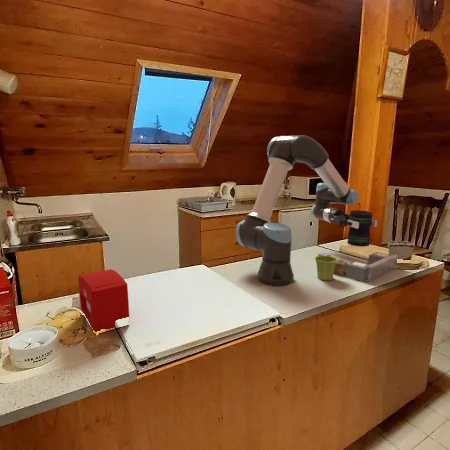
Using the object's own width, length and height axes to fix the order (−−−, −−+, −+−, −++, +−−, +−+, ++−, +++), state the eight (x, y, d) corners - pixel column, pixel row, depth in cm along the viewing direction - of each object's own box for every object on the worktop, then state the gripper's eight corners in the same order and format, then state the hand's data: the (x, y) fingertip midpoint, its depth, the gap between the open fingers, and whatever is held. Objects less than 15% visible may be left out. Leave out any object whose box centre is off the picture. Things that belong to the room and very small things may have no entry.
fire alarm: (81, 315, 114) (76, 272, 110) (113, 307, 120) (110, 266, 116) (94, 337, 101) (90, 289, 97) (130, 326, 107) (127, 281, 103)
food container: (407, 260, 171) (410, 240, 168) (413, 264, 165) (415, 244, 162) (382, 259, 172) (384, 240, 170) (386, 263, 166) (388, 243, 164)
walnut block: (331, 273, 153) (331, 262, 152) (335, 269, 158) (335, 259, 156) (342, 275, 150) (343, 264, 149) (346, 271, 155) (347, 261, 154)
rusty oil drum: (350, 239, 167) (352, 209, 164) (371, 242, 162) (374, 211, 159) (344, 244, 159) (347, 212, 156) (366, 247, 154) (370, 215, 151)
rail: (365, 280, 144) (367, 265, 143) (391, 267, 160) (393, 254, 159) (370, 281, 143) (371, 267, 141) (396, 268, 159) (397, 255, 157)
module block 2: (367, 266, 162) (369, 254, 160) (375, 262, 167) (377, 251, 165) (384, 270, 156) (386, 258, 154) (392, 266, 161) (393, 255, 160)
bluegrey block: (317, 265, 162) (318, 253, 161) (323, 264, 164) (324, 252, 163) (323, 268, 159) (324, 255, 158) (330, 266, 161) (330, 254, 160)
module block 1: (345, 276, 149) (346, 263, 147) (353, 272, 153) (354, 260, 152) (363, 281, 143) (364, 268, 142) (371, 277, 147) (372, 264, 146)
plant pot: (308, 277, 148) (310, 258, 146) (322, 272, 153) (324, 254, 151) (327, 284, 140) (328, 263, 138) (340, 279, 146) (342, 259, 144)
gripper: (350, 221, 180) (385, 230, 160) (315, 224, 171) (346, 234, 151) (352, 207, 178) (386, 214, 158) (316, 209, 170) (348, 218, 150)
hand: (367, 224), depth 155 cm, fingers closed on rusty oil drum, 10 cm apart
